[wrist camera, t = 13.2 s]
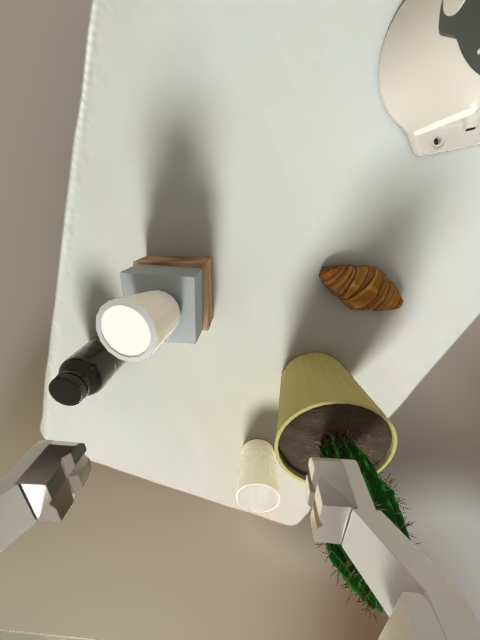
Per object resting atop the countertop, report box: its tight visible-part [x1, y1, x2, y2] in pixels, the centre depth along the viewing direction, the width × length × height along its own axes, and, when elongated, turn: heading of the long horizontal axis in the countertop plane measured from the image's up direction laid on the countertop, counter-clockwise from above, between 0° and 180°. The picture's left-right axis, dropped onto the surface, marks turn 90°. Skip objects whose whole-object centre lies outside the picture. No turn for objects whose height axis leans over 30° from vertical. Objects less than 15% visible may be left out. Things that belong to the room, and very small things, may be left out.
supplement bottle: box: [49, 336, 125, 406], centre depth 42 cm, size 7×7×12 cm
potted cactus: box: [274, 352, 415, 614], centre depth 33 cm, size 15×15×30 cm
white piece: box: [96, 290, 181, 362], centre depth 29 cm, size 7×7×7 cm
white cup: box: [236, 439, 280, 512], centre depth 51 cm, size 8×8×10 cm
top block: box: [120, 264, 203, 344], centre depth 35 cm, size 9×9×5 cm
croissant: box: [319, 265, 403, 311], centre depth 38 cm, size 14×7×5 cm, turn 69°
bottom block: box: [133, 256, 213, 330], centre depth 40 cm, size 10×10×5 cm
